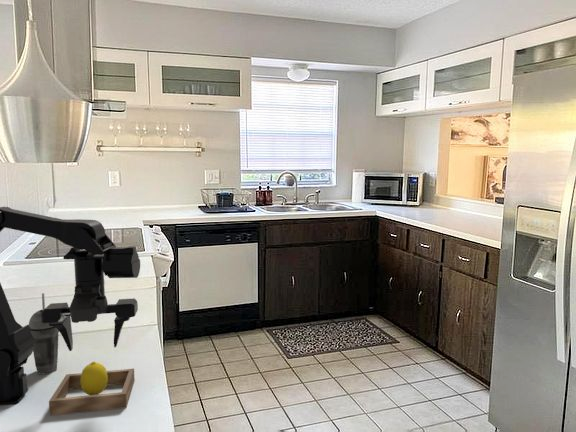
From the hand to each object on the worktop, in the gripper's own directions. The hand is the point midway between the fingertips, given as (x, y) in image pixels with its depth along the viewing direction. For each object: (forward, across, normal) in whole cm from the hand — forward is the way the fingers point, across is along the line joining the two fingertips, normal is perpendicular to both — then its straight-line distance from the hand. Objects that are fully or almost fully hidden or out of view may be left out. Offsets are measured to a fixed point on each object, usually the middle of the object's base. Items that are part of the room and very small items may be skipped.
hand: (93, 348), depth 102 cm
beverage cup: (+11, -15, +17) cm, 26 cm away
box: (+11, 0, 0) cm, 11 cm away
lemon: (+11, 0, 0) cm, 11 cm away
